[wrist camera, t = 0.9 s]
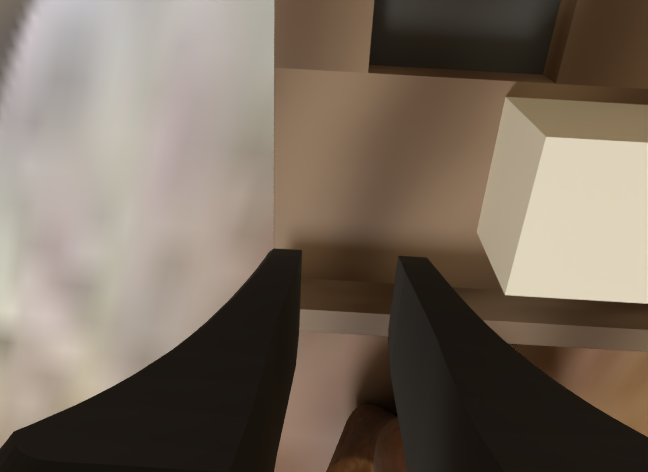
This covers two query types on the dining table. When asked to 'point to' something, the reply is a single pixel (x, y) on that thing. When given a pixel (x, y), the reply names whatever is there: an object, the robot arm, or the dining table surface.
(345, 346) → the dining table surface
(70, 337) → the dining table surface
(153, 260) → the dining table surface
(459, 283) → the trap box
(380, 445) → the decorative turtle
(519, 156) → the cream block
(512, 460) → the robot arm
